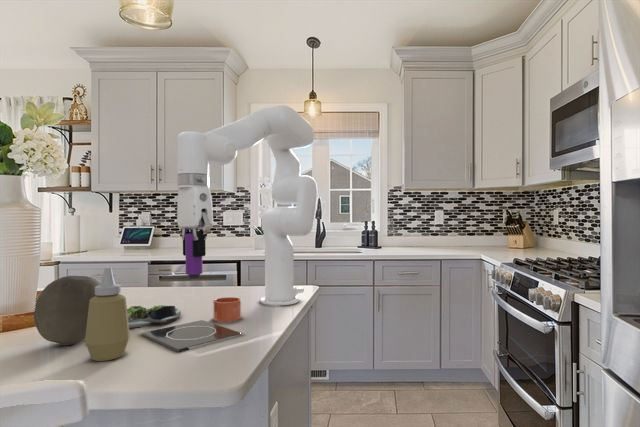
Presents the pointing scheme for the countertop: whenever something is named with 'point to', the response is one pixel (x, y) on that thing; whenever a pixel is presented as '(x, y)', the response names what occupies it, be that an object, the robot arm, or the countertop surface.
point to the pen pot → (227, 309)
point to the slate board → (189, 335)
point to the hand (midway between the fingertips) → (194, 255)
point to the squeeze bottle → (107, 321)
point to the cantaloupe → (65, 309)
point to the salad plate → (152, 315)
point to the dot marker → (192, 259)
